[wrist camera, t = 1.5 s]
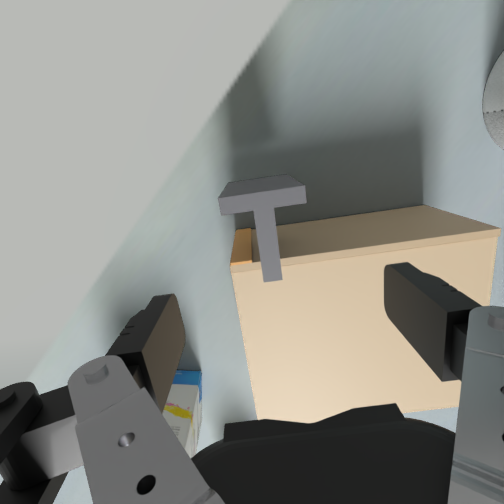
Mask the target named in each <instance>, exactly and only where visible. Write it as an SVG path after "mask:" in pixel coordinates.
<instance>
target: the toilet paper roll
mask: <svg viewBox="0 0 504 504" xmlns="http://www.w3.org/2000/svg"><path fill="white" fill-rule="evenodd" d="M483 115H484V120H485V124H486V127H487V130H488V132H489V134H490V136H491V137H492V139H493V140H494V142H495V143H496V144H497V145H498V146H499V147H501V148H502V149H503V150H504V51H503V52H502V54H501V55H500V56H499V58H498V59H497V61H496V63H495V64H494V66H493V68H492V70H491V73H490V75H489V77H488V80H487V83H486V87H485V91H484V97H483Z"/></svg>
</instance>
